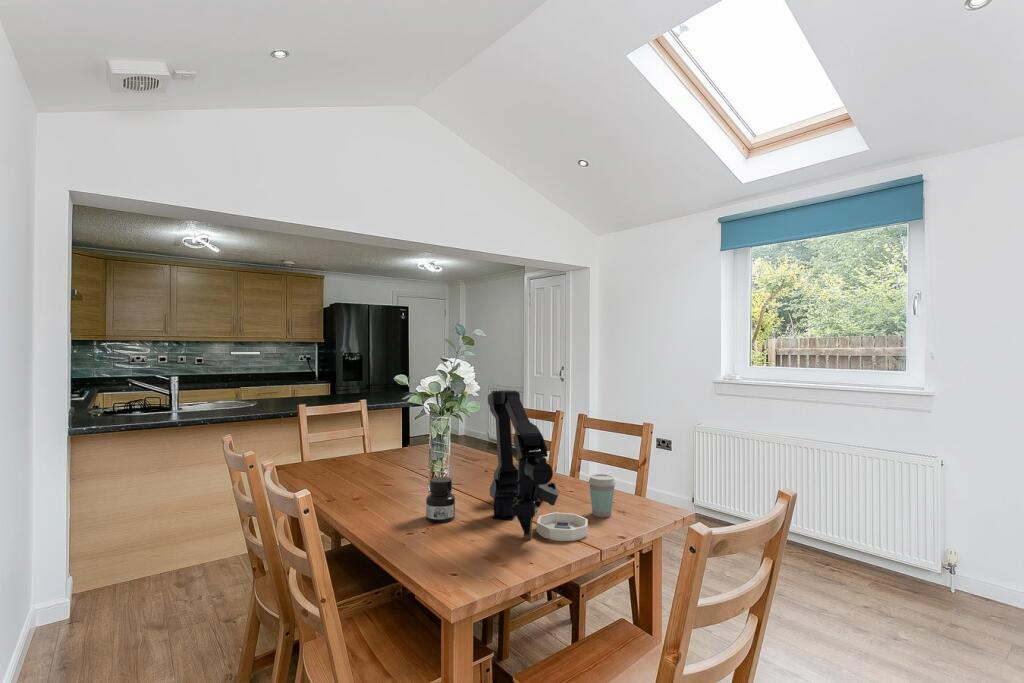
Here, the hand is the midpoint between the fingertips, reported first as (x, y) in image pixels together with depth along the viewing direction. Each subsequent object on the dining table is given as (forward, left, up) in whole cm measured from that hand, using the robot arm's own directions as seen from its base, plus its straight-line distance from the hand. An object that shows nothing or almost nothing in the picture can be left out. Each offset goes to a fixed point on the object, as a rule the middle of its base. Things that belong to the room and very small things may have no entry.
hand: (527, 531), depth 141 cm
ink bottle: (-29, +11, -2) cm, 31 cm away
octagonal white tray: (+9, +7, -2) cm, 12 cm away
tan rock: (-5, +36, -2) cm, 36 cm away
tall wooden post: (0, 0, -2) cm, 2 cm away
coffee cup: (+20, +25, -2) cm, 32 cm away
